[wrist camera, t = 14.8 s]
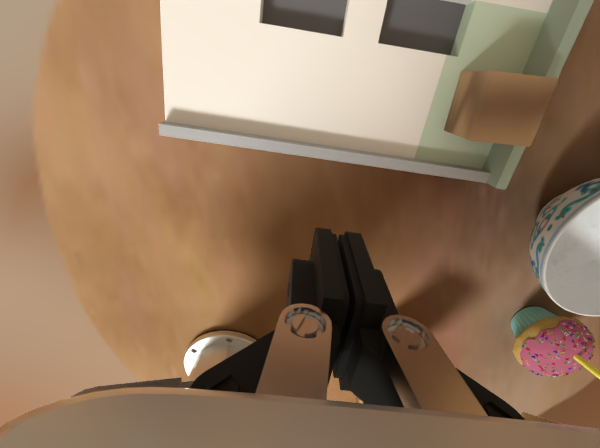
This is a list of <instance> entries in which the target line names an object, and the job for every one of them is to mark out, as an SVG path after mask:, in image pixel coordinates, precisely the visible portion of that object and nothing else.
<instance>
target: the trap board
mask: <svg viewBox="0 0 600 448" xmlns="http://www.w3.org/2000/svg"><path fill="white" fill-rule="evenodd" d="M593 1H594V0H160V13H161V35H162V57H163V80H164V102H165V122H162V123H159V135H162V136H169V137H175V138H182V139H189V140H196V141H203V142H209V143H216V144H223V145H230V146H237V147H243V148H250V149H257V150H264V151H271V152H278V153H284V154H291V155H298V156H305V157H312V158H318V159H325V160H332V161H339V162H346V163H352V164H359V165H366V166H373V167H380V168H386V169H393V170H400V171H407V172H414V173H420V174H427V175H434V176H441V177H448V178H455V179H461V180H468V181H475V182H482V183H487V184H489V185H490V186H492V187H494V188H496V189H503V190H506V188H507V186H508V184H509V182H510V180H511V177H512V175H513V173H514V171H515V169H516V167H517V165H518V162H519V160H520V158H521V156H522V154H523V152H524V150H525V146H515V145H505V144H496V143H486V142H477V141H469V140H466V139H464V138H461V137H459V136H456V135H454V134H451V133H449V132H446V131H444V127H445V124H446V120H447V117H448V114H449V110H450V107H451V103H452V100H453V97H454V93H455V90H456V86H457V83H458V80H459V76H460V73H461V71H500V72H509V73H518V74H527V75H535V76H544V77H553V78H558V77H559V74H560V72H561V70H562V68H563V66H564V64H565V61H566V59H567V57H568V55H569V53H570V51H571V49H572V46H573V44H574V42H575V40H576V38H577V36H578V34H579V31H580V29H581V27H582V25H583V23H584V21H585V19H586V16H587V14H588V12H589V10H590V8H591V6H592V3H593Z"/></svg>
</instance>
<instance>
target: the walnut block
mask: <svg viewBox="0 0 600 448" xmlns="http://www.w3.org/2000/svg"><path fill="white" fill-rule="evenodd" d="M559 79H560V78H553V77H544V76H535V75H527V74H518V73H509V72H500V71H461V73H460V76H459V80H458V83H457V86H456V90H455V93H454V97H453V100H452V103H451V107H450V110H449V114H448V117H447V120H446V124H445V127H444V131H446V132H449V133H451V134H454V135H456V136H459V137H461V138H464V139H466V140H469V141H477V142H486V143H496V144H505V145H515V146H525V147H531V145H532V142H533V140H534V138H535V135H536V133H537V131H538V128H539V126H540V124H541V121H542V119H543V117H544V114H545V112H546V110H547V107H548V105H549V103H550V100H551V98H552V96H553V93H554V91H555V88H556V86H557V84H558V81H559Z"/></svg>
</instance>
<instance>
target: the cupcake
mask: <svg viewBox="0 0 600 448" xmlns="http://www.w3.org/2000/svg"><path fill="white" fill-rule="evenodd" d="M511 327H512V330H513V332H514V335H515V339H516V340H515V343H514V345H513V348H512V350H513V353H514V355H515V357H516V359H517V360H518V362H519V363H521V364H522V365H523V366H524V367H526V368H527V370H530V371H532V372H534V373H535V374H536V373H537V374H536V375H539V374H540V375H541V376H542V375H546V376H552V377H554V376H555V377H556V376H564V375H565V374H566V375H568V374H569V373H571V372H574V371H577V370H580V369H581V367H583V366H584V367H585V368H586V369H588V370H589V371H590V372H591V373H593V374H594V375H595V376H596V377H598V378H599V379H600V371H599V370H598V369H596V368H595V367H594V366H592V365H591V364H590V363H588V361H589V360H590V359H591V357H592V356H593V355H592V353H593V351H594V348H595V346H594V345H595V344H594V342H595V340H594V337H593V334H592V333H591V332H590V331H589V330H588V328H587V327H586V326H585V325H584V324H583V323H582V322H580V321H579V320H576V319H572V318H569V317H567V316H561V317H559V316H557V315H555V314H553V313H551V312H549V311H547V310H545V309H544V308H541V307H536V306H533V307H527V308H524V309H522V310H520V311H519V312H517V313H516V314H515V315H514V316H513V318H512V320H511Z"/></svg>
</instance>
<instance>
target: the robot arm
mask: <svg viewBox="0 0 600 448" xmlns="http://www.w3.org/2000/svg"><path fill="white" fill-rule="evenodd" d="M184 368H185V371H186V373H187V374H188V376H189V377H188V380H187V382H182V380H181V378H171V379H162V380H153V381H143V382H134V383H125V384H115V385H106V386H97V387H93V388H89V389H85V390H83V391H81V392H79V393H77V394H75V395H73V396H71V397H70V398H66V399H62V400H59V401H56V402H53V403H49V404H46V405H43V406H41V407H38V408H36V409H33V410H31V411H28V412H25V413H23V414H21V415H19V416H18V417H16V418H14V419H12V420H10V421H8V422H6V423H4V424H3V425H1V426H0V448H600V429H595V428H588V427H580V426H572V425H564V424H560V423H557V422H554V421H550V420H547V419H544V418H541V417H537V416H534V415H531V414H528V413H525V412H523V413H522V414H521V415H520V414H519V413H518V412H517V411H516V410H515V409H514V408H513V407H511V406H510V405H509V404H508V403H506V402H505V401H503V400H502V399H501V398H499V397H498V396H496V395H495V394H493V393H492V392H490V391H489V390H487V389H486V388H484V387H483V386H481V385H480V384H479V383H477V382H476V381H474V380H473V379H471V378H470V377H468V376H467V375H465V374H464V373H462V372H461V371H460V370H458V369H457V368H455V367H454V365H453V364H452V362H451V361H450V359H449V358H448V356H447V355H446V353H445V352H444V350H443V349H442V347H441V346H440V344H439V343H438V341H437V340H436V339H435V337H434V336H433V334H432V333H431V332H430V331H429V329H428V328H427V327H426V326H424V325H423V324H422V323H421V322H419V321H417V320H415V319H413V318H411V317H408V316H404V315H399V314H398V312H397V309H396V307H395V304H394V302H393V299H392V297H391V294H390V292H389V290H388V287H387V285H386V282H385V280H384V277H383V275H382V272H381V271H380V270H377V269H374V267H373V265H372V262H371V259H370V257H369V254H368V251H367V249H366V246H365V243H364V240H363V238H362V235H361V234H360V233H352V232H345V234H344V235H339V238H338V241H337V236H336V234H332V232H331V230H330V229H322V228H316V229H315V234H314V239H313V244H312V249H311V255H310V260H309V261H306V260H298V259H292V263H291V269H290V275H289V282H288V290H287V301H286V308H285V309H284V310H283V311H282V312H281V314H280V316H279V319H278V322H277V325H276V329H275V330H274V331H272V332H270V333H269V334H267V335H265V336H264V337H262V338H260V339H259V340H255V339H254V338H252V337H250V336H248V335H246V334H242V333H239V332H234V331H214V332H210V333H206V334H204V335H202V336H200V337H198V338H196V339H195V340H194V341H193V342H192V343H191V344H190V345H189V347H188V349H187V351H186V353H185V357H184ZM332 369H333V376H334V378H339V383H340V390H347V391H352V392H353V393H354V394H355V395H356V396H357V398H356V403H351V402H341V401H330V400H326V398H327V387H328V383H329V380H330V376H331V373H332Z"/></svg>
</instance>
